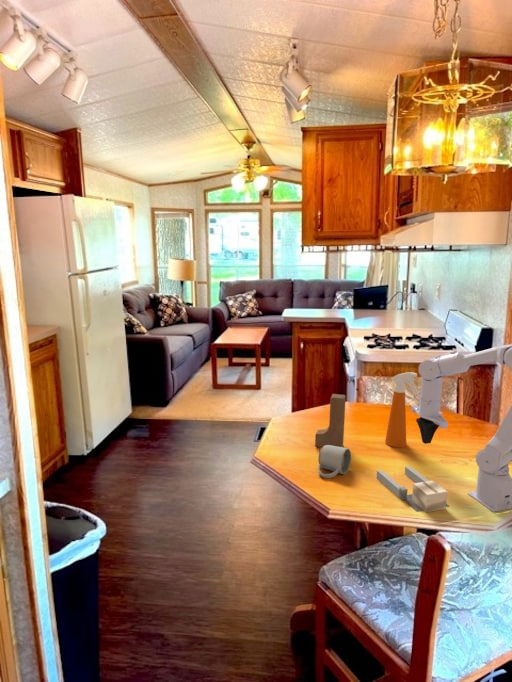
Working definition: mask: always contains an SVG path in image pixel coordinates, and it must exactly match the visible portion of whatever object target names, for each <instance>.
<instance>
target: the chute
mask: <svg viewBox="0 0 512 682" xmlns="http://www.w3.org/2000/svg"><path fill="white" fill-rule="evenodd" d="M404 475H405V476H407V477H408V478H409V479H411V481H413V482H414V483H420V482H427V481H430V480H429V479H427V478H426V477H425V476H424V475H422V474H421V473H420V472H419V471H417V470H416V469H414V468H413V467H412V466H410V465H407V466H405V467H404ZM376 479H377V480H378V481H379V482H380V483H382V484H383V485H384V486H385V488H387V489H388V490H389V491H390V492H392V493H393V494H394V495H395V496H396V497H397V498H398V499H400V500H401V501H404V500H406V499H407V495H408V488H407V487H406V486H402V485H400V484H399V483H398V482H397V481H395V480H394V479H393V478H392V477H390V476H389V475H388V474H387V473H386V472H384V471H383V470H382V469H379V470H376Z"/></svg>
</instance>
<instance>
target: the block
mask: <svg viewBox="0 0 512 682" xmlns="http://www.w3.org/2000/svg"><path fill="white" fill-rule="evenodd" d="M412 485H413V486H412V493H411V494H412V501H413V502H414V503H415V504H416V505H418V506H419V507H420V508H421V509H422V510H423V511H424V512H425V513H430V512H435V511H442V510H446V504H447V501H448V500H447V498H448V490H446V489H445V488H444V487H442V486H441V485H439V484H438V483H437V482H435V481H434V480H429V481H427V482H420V483H416V482H414V483H413V484H412ZM423 511H422V512H423Z"/></svg>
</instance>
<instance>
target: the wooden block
mask: <svg viewBox="0 0 512 682" xmlns="http://www.w3.org/2000/svg"><path fill="white" fill-rule="evenodd" d="M346 397H347V396H346V395H345V394H337V393H332V394H331V397H330V398H329V399H330V401H329V402H330V403H329V421H328V423H329V425H328V427H327V428H326V429H318V430H317V431H316V432H315V436H314V437H315V438H314V440H315V441H314V442H315V444H314V446H315V447H318V448H322V447H323V446H325V445H332V446H337V447H343V446H344V439H345V438H344V437H345V436H344V433H345V414H346Z"/></svg>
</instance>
